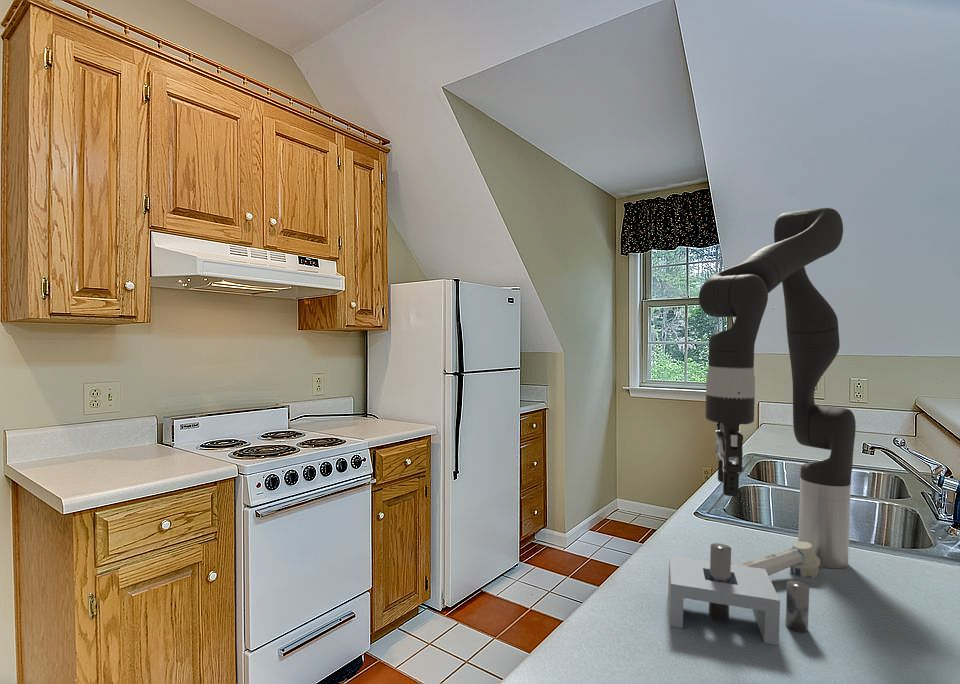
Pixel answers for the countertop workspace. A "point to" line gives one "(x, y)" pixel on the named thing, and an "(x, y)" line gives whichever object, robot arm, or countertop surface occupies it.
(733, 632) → the countertop surface
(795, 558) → the beige toy mallet
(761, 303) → the robot arm
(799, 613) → the short pin
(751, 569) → the bridge
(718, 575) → the tall pin
